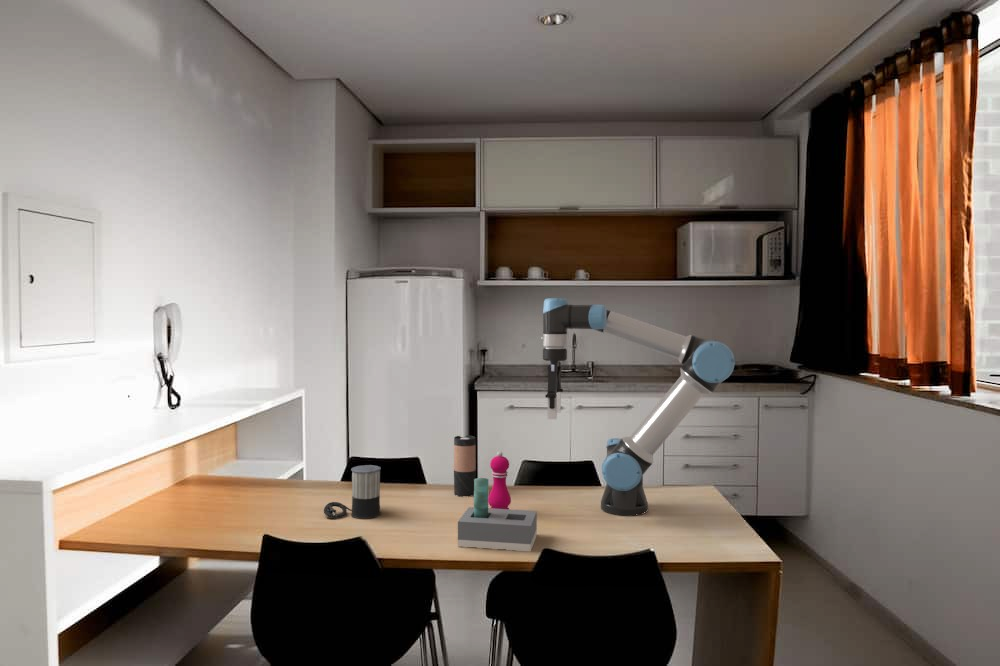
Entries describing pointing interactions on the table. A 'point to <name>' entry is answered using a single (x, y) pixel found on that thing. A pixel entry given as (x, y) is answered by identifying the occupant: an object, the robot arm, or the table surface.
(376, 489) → the milk frother
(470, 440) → the travel mug
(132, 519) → the table surface
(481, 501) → the pin
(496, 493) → the pepper mill
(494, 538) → the hole block
